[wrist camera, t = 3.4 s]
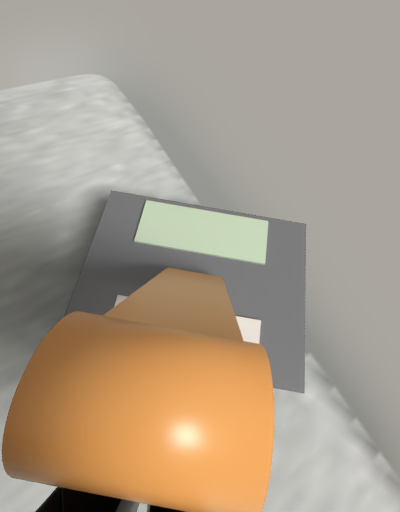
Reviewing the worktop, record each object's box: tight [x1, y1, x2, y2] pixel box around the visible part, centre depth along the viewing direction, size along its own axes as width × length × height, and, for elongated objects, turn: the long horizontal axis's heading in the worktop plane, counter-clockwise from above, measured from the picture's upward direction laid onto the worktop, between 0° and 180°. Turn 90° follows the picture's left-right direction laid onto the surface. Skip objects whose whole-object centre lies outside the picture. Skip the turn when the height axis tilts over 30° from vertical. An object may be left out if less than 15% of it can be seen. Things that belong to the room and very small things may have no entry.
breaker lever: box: [2, 268, 274, 512], centre depth 9 cm, size 2×3×12 cm
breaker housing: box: [64, 191, 306, 393], centre depth 17 cm, size 10×13×4 cm
